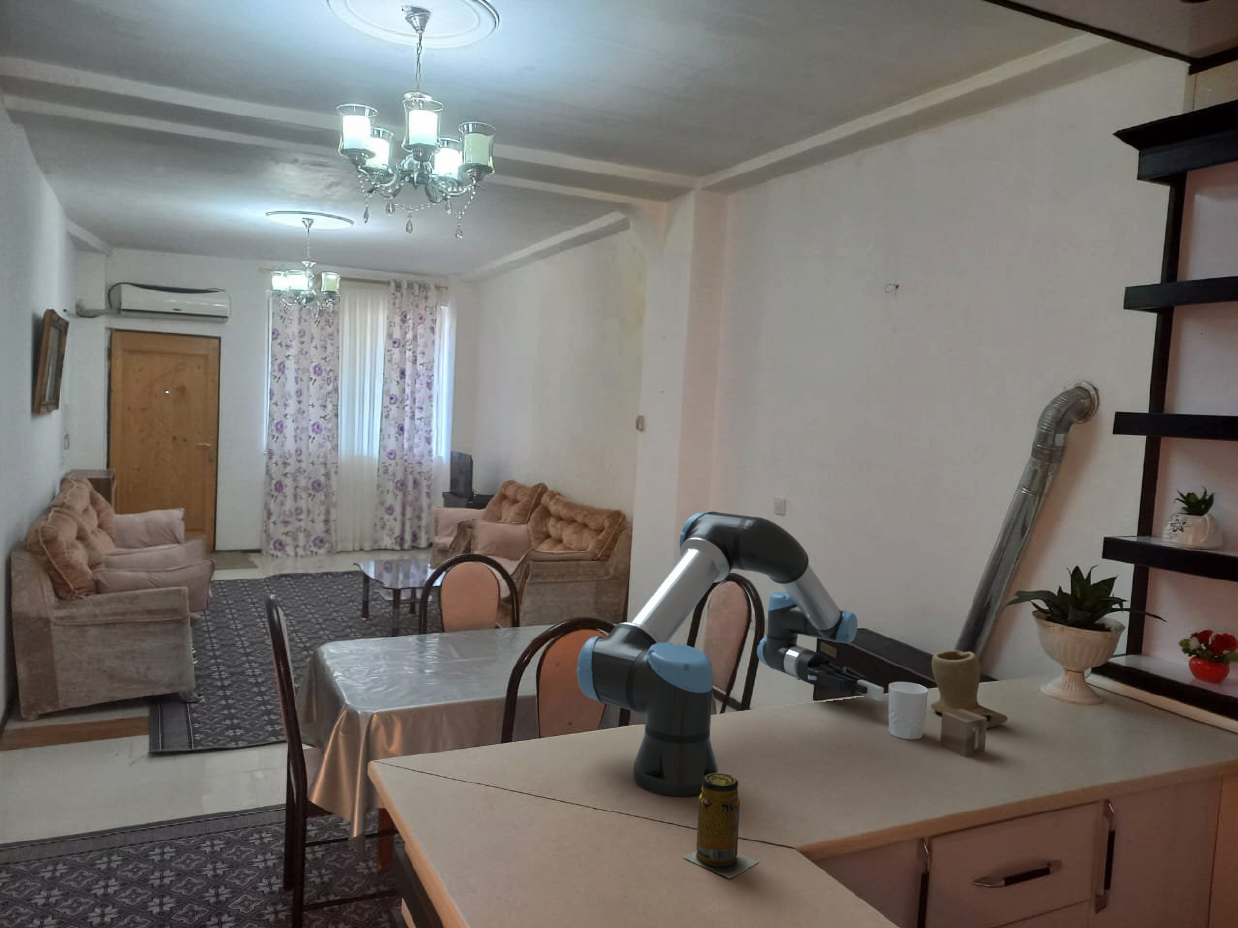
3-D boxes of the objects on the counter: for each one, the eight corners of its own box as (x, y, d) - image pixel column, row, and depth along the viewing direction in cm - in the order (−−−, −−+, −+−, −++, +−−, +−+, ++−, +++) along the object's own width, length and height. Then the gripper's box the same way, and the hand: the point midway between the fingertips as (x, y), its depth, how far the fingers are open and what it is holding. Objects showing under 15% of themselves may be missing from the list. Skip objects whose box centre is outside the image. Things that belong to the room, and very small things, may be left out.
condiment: (712, 842, 137) (716, 765, 136) (758, 862, 131) (762, 783, 130) (682, 858, 131) (686, 778, 130) (729, 880, 125) (733, 797, 125)
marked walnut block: (965, 757, 176) (967, 722, 175) (940, 746, 181) (942, 712, 181) (985, 752, 179) (988, 718, 178) (960, 742, 184) (962, 708, 184)
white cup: (885, 737, 185) (888, 690, 184) (886, 725, 192) (889, 679, 192) (925, 743, 182) (928, 695, 182) (924, 730, 190) (927, 684, 189)
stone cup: (916, 711, 203) (920, 646, 202) (955, 705, 208) (959, 642, 207) (968, 734, 189) (972, 664, 188) (1008, 727, 194) (1013, 660, 193)
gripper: (826, 677, 217) (901, 707, 197) (785, 683, 211) (857, 715, 191) (828, 647, 217) (903, 674, 197) (787, 652, 211) (859, 680, 190)
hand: (880, 694), depth 194 cm, fingers closed
